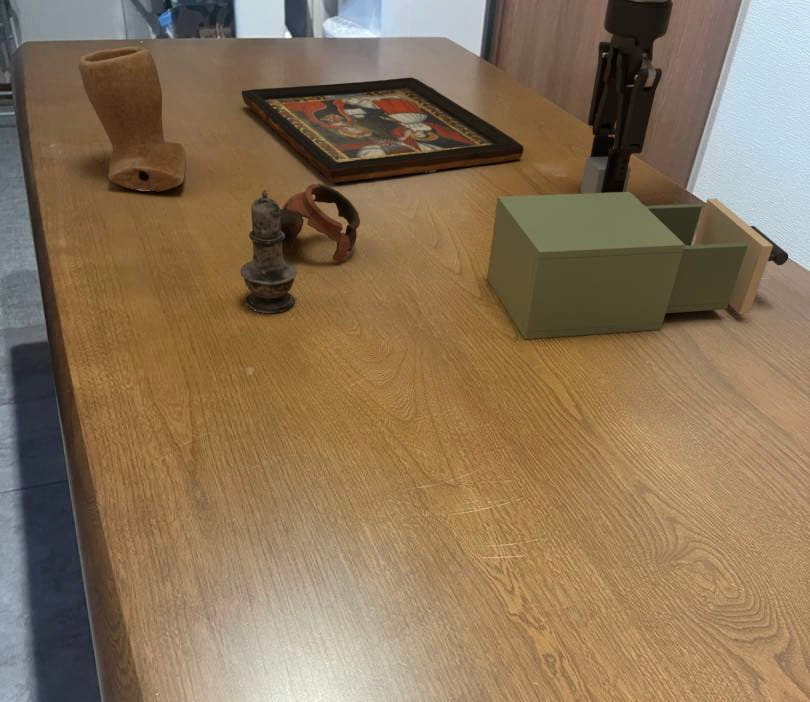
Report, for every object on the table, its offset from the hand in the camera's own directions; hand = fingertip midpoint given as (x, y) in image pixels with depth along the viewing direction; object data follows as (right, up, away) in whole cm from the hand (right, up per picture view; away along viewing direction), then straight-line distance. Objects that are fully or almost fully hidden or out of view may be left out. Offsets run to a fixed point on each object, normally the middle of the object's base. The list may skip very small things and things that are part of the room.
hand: (602, 194), depth 118 cm
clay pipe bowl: (-62, +2, 0) cm, 62 cm away
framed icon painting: (-31, +16, +17) cm, 39 cm away
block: (0, 0, 0) cm, 0 cm away
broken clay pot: (-38, -13, -15) cm, 43 cm away
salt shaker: (-41, -21, -24) cm, 52 cm away
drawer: (+5, -18, -18) cm, 26 cm away
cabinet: (-8, -20, -20) cm, 30 cm away
